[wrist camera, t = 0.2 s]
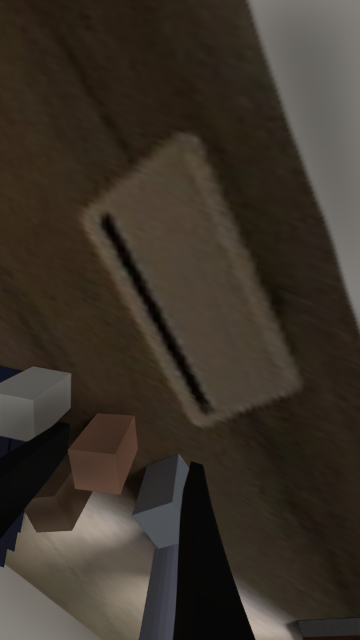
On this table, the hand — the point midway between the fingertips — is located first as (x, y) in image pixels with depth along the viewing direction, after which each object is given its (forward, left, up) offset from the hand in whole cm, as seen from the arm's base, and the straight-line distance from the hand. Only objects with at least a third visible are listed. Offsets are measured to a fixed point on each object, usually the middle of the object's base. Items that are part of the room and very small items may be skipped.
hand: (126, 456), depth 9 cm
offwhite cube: (-3, +15, -10) cm, 18 cm away
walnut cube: (-16, +14, -10) cm, 23 cm away
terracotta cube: (-9, +7, -10) cm, 15 cm away
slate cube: (-15, 0, -10) cm, 18 cm away
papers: (-13, +31, -11) cm, 35 cm away
